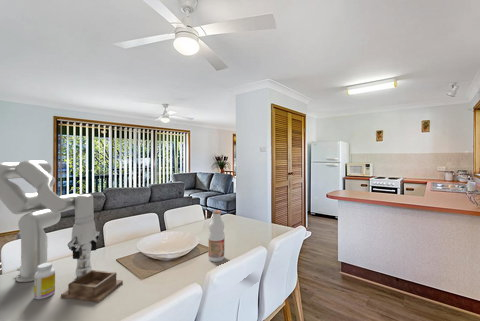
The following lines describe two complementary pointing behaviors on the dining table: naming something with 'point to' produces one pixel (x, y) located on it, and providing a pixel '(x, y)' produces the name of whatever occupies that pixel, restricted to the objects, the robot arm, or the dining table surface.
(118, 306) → the dining table surface
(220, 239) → the fruit juice
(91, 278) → the walnut caddy
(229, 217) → the dining table surface
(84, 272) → the plastic bottle
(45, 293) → the supplement bottle
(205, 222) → the dining table surface
